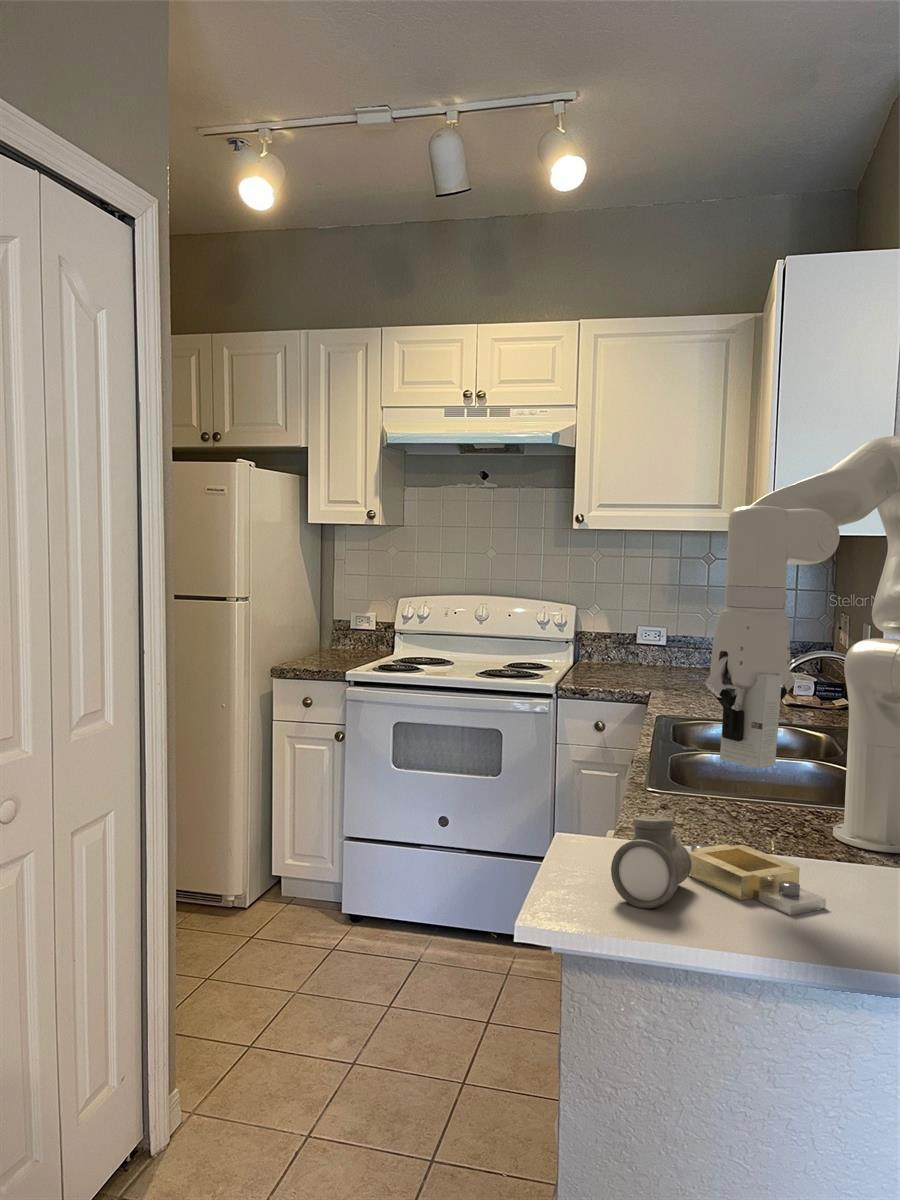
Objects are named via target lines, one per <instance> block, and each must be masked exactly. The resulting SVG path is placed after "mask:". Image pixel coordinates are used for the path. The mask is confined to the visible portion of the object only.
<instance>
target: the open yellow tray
mask: <svg viewBox="0 0 900 1200" xmlns="http://www.w3.org/2000/svg"><path fill="white" fill-rule="evenodd" d="M685 849H686V850H687V851H688V853H689V855H690V858H691V863H692V866H691V871H690V874H689V876H688V877H691V876H692V877H691V878H693V879H695V880H697V881H699V882H701V881H702V882H701V883H703V882H704V883H703V884H705V883H706V884H705V885H707V884H709V885H708V886H710V887H712V886H713V887H712V888H714V887H715V888H714V889H716V888H717V889H716V890H718V889H719V890H718V891H720V890H721V891H720V892H722V891H724V892H726V893H727V894H726V893H725V894H726V895H729V896H731V897H733V898H735V899H737V900H740V901H744V900H745V901H746V900H750V899H751V900H752V899H753V900H756V901H759V902H761V903H762V904H765V905H766V906H769V907H771V908H773V909H775V910H778V911H780V912H782V913H785V914H786V915H788V916H795V915H799V914H804V913H809V912H815V911H819V910H818V909H820V910H824V909H823V908H827V898H825V897H823V896H820V895H818V894H815V893H813V892H812V891H811V892H810V891H808V890H806V889H803V888H801V884H800V866H798V865H796V864H792V863H790V862H788V861H785V860H784V859H781V858H778V857H775V856H773V855H771V854H767V853H764V851H760V850H758V849H755V848H752V847H751V846H748V845H745V844H739V845H730V844H728V843H725V844H718V845H712V846H709V845H707V844H702V843H693V844H691V847H688V848H686V847H685ZM724 892H723V893H724ZM814 910H815V911H814Z"/></svg>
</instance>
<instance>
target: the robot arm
mask: <svg viewBox="0 0 900 1200" xmlns="http://www.w3.org/2000/svg"><path fill="white" fill-rule="evenodd" d="M876 509H877V511H878V515H879V518H880V520H881V522H882V526H883V530H884V532H885V535H886V540H887V554H886V557H885V562H884V566H883V569H882V572H881V576H880V579H879V583H878V586H877V589H876V592H875V596H874V601H873V605H872V608H871V609H872V610H871V618H872V619H871V620H872V623H873V624H874V626H875V628H876V629H878V630H879V631H881V632H883V633H885V634H889V635H893V636H897V637H898V636H900V435H891V436H884V437H879V438H874V439H871V440H869V441H867V442H865V443H864V444H862V445H861V446H860V447H859V448H857V449H856V450H854V451H853V452H852V453H850V454H849V455H848V456H846V457H845V458H843V459H842V460H841V461H839V462H838V463H836V464H835V465H834V466H832V467H831V468H830V469H828V470H826V471H824V472H821V473H818V474H815V475H812V476H811V477H810V476H809V477H807V478H805V479H802V480H800V481H797V482H795V483H793V484H790V485H787V486H784V487H782V488H779V489H777V490H774V491H772V492H770V493H768V494H765V495H763V496H762V497H760V498H759V499H757V500H756V501H755V502H753V503H752V504H750V505H744V506H738V507H735V508H734V509H733V510H732V511H731V512H730V514H729V517H728V526H727V527H728V528H727V530H728V531H727V548H726V549H727V550H726V551H727V552H726V572H725V575H726V576H725V592H724V594H725V595H724V596H725V598H724V609H723V610H722V609H721V610H719V614H718V617H717V620H716V625H715V630H714V635H713V641H712V648H711V650H712V651H711V656H710V657H711V658H710V674H709V676H708V678H707V679H706V680H705V686H706V687H707V689H709V691H710V692H711V693H713V696H714V697H715V699H716V700H717V701H718V705H719V707H720V708H722V722H723V723H722V724H721V735H722V737H723V738H726V739H730V740H734V741H742V740H743V733H744V711H742V710H740V708H741V705H742V701H743V698H744V694H745V690H746V688H752V687H753V686H755V684H756V679H757V675H760V674H780V675H782V683H781V696H780V708H781V707H782V704H783V703H782V701H783V700H784V698H785V697H786V695H787V694H788V692H789V691H790V690H791V688H793V687H794V685H795V684H796V679H795V677H794V675H793V673H792V672H791V670H790V669H791V668H790V667H791V640H790V639H791V638H790V626H789V619H788V613H787V612H786V603H787V601H788V594H787V588H786V587H787V574H788V565H814V564H820V563H822V562H824V561H827V560H828V559H829V558H831V556H832V555H834V553H835V552H836V551H837V549H838V546H839V543H840V536H841V535H840V529H839V527H841V526H845V525H850V524H852V523H857V522H859V521H860V520H863V519H864V518H866V517H867V516H868V515H870V514H871V513H872V512H873V511H874V510H876ZM843 664H844V667H843V668H844V670H843V671H844V678H845V684H846V691H847V702H848V733H847V734H848V736H847V737H848V738H847V752H846V753H847V755H846V776H845V794H844V795H845V796H844V816H843V817H844V819H843V823H839V824H836V825H834V826H833V828H832V835H833V837H834V838H835V839H836V840H838V841H839V842H842V843H844V844H847V845H850V846H852V847H856V848H860V849H863V850H868V851H869V850H870V851H874V852H881V853H887V854H888V853H892V854H900V639H895V638H883V637H882V638H877V637H876V638H874V637H873V638H867V639H866V638H865V639H863V640H860V641H857V642H856V643H855V644H853V645H852V646H851V647H850V648H849V649H848V651H847V653H846V655H845V658H844V663H843ZM732 690H735V693H734V697H733V696H732V695H731V694H732Z"/></svg>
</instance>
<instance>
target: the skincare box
mask: <svg viewBox="0 0 900 1200" xmlns="http://www.w3.org/2000/svg"><path fill="white" fill-rule="evenodd" d="M781 683H782V675H780V674H760V675H757V679H756V684H755V686H753V687H752V688H746V690H745V694H744V698H743V701H742V705H741V708H740V710H742V711H744V733H743V740H742V741H734V740H730V739H726V738H723V737H722V734H721V735H720V736H721V737H720V753H719V760H720V761H724V762H729V763H733V764H738V765H741V766H742V765H743V766H745V767H752V768H755V769H764V768H768V767H771V766H772V767H773V766H775V765H776V759H777V745H778V733H779V732H778V731H779V719H780V709H781V707H780V696H781ZM734 693H735V690H732V694H731V695H732V696H733V697H734ZM722 723H723V721H722Z"/></svg>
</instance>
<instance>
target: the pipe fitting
mask: <svg viewBox="0 0 900 1200" xmlns="http://www.w3.org/2000/svg"><path fill="white" fill-rule="evenodd" d="M674 821H675V820H674V819H673V818H672V817H671V818H670V817H667V816H666V817H665V816H656V815H655V816H653V815H649V816H646V815H644V816H643V815H641V816H635V817H634V816H633V818H632V827H634V837H633V840H630V841H628V842H626V843H624V844H622V845H621V846H620V847H619V848H618V849H617V850H616V852H615V853H614V856H613V858H612V861H611V864H610V865H611V867H610V872H611V873H610V875H611V880H612V883H613V886H614V888H615V890H616V891H617V894H619V896H620V897H621V898H622V899H623V900H624V901H625V902H626V903H628V904H630V905H631V906H634V907H636V908H639V909H654V908H658V907H659V906H662V905H664V904H665V903H667V902H668V901H669V900H671V898H672V897H673V896H674V894H675V893H676V891H677V889H678V887H679V885H680V884H682V883H683V882H685V881H686V879H687V878H688V877H690V876H689V874H690V871H691V866H692V863H691V858H690V855H689V853H688V851H687V850H686V847H685V846H684V845H683V844H681V842H679V841H677V836H676V833H675V832H673V830H672V829H674V826H675V824H674V823H675V822H674Z"/></svg>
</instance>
